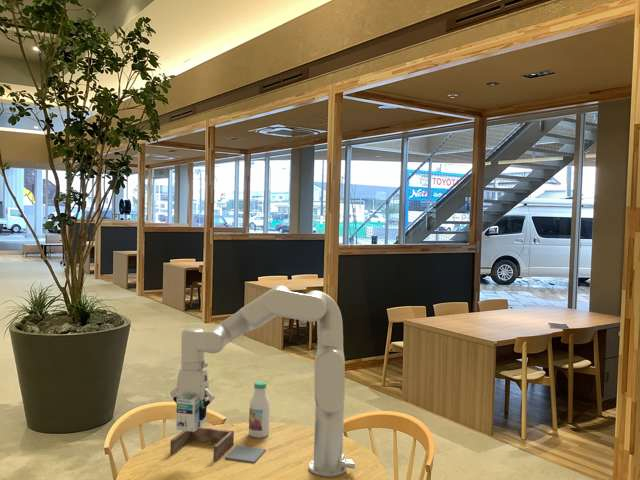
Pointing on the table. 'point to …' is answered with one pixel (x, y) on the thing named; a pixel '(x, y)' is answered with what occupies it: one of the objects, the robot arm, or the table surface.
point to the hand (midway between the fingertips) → (191, 417)
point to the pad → (245, 454)
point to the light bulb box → (188, 414)
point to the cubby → (205, 440)
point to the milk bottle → (259, 412)
